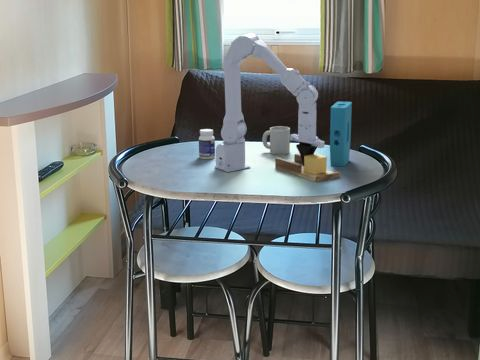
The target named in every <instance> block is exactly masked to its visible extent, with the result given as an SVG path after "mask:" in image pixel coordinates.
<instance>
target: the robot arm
mask: <svg viewBox="0 0 480 360" xmlns="http://www.w3.org/2000/svg"><path fill="white" fill-rule="evenodd" d="M249 56H251V58H256V59H261V60H262V61H264V62H265V64H267V65H268V67H270V68H271V69H272V70H273V71H274V72H275V73H276V74H277V75H279V79H280V83H281V84H282V85H283V86H284V87H285V88H286V89H287V90H288V91H289V92H290V93H291V94H292V95H293V96H294V97H295V98H296V102H297V103H298V115H297V116H298V117H297V118H298V120H297V121H298V122H297V123H298V125H297V133H292V134H291V133H290V142H293V141H294V142H297V143H298V144H296V145H295V147H296V149H297V151H298V154H300V156H301V159H302V163H303V166H304V156H307V155H312V154H315V152H316V151H317V149H323V148H325V140H321V139H320V138H319V137H318V136H317V99H318V98H319V92H318V90H317V89H316V87H315V86H314V85H311V83H310V81H307V80H305V79H304V77H302V75H300V73H301V72H300V71H299V70H298V69H296V70H295V69H294V68H288V66H286V65H285V64H284V63H283V61H281V59H280V58H279V57H278V56H277V55H276V53H274V52H273V51H272V49H271V48H270V47H269V46H268V45H267V44H266V42H264V40H262V39H260V38H259V37H258V35H256V34H255V33H251V32H249V33H246V34H244V35H239V36H237V37H236V38H235V39H234V40H233V41H231V43H230V46H229V48H228V49H227V51H226V53H225V55H224V57H223V74H224V101H225V115H224V117H223V122H222V123H223V124H222V128H221V129H220V130H221V131H220V137H221V138H222V142H221V143H219V144H217V145H216V146H215V165H214V167H215V169H218V170H221V171H224V172H227V173H229V172H236V171H241V170H245V169H249V168H251V165H248V164H246V139H245V135H246V133H247V130H248V129H247V125H246V122H245V119H244V117H245V116H244V114H243V112H242V91H241V90H242V89H241V88H242V87H241V83H242V82H241V64H242V62H244V61H245V59H247V57H249Z"/></svg>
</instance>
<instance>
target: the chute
mask: <svg viewBox="0 0 480 360" xmlns="http://www.w3.org/2000/svg"><path fill="white" fill-rule="evenodd" d="M293 156H294V157H293V158H294V161H291V160H288V159H284V158H282V157H279V156H278V157H275V158H274V160H275V161H274V163H275V164H274V165H275V169H277V170H280V171H283V172H286V173H289V174H292V175H294V176H295V175H296V176H299V177H301V178H304V179H306V180H310V181H313V182H316V183H320V182H325V181H329V180H332V179H338V178H340V177H341V172H340V171H336V172H335V171H331V170H328V169H326V172H324V173H319V174H315V175H314V174H311V173H308V172H305V171H304V166H303V163H302V159H301V156H300V153H294V155H293Z"/></svg>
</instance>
